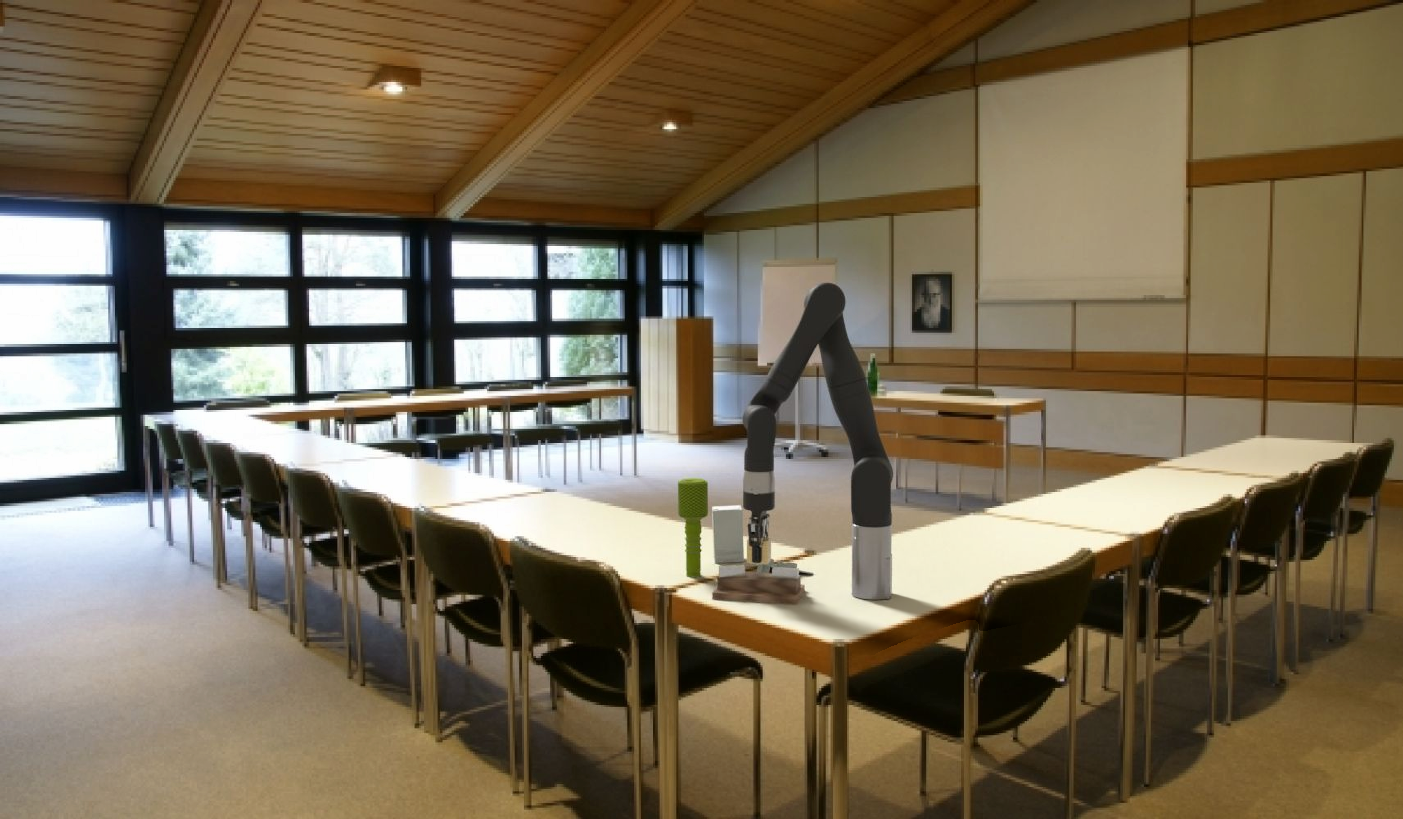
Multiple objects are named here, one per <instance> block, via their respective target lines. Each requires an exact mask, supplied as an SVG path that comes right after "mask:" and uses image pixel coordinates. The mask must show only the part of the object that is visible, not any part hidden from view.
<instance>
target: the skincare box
mask: <svg viewBox="0 0 1403 819" xmlns="http://www.w3.org/2000/svg"><path fill="white" fill-rule="evenodd" d="M711 515H712V517H711V520H712V544H713V547H712V548H713V559H714V564H723V563H724V564H725V563H729V564H730V563H744V562H745V554H744V553H745V552H744V550H745V549H744V526H743V525H744V523H743V507H742V506H741V504H738V505H737V504H736V505H719V506H718V505H717V506H715V505H714V506H711Z"/></svg>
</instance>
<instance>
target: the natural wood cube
mask: <svg viewBox="0 0 1403 819" xmlns="http://www.w3.org/2000/svg"><path fill="white" fill-rule="evenodd" d="M754 541H757V539H756V538H754ZM771 559H772V538H771V537H768V538H766V537H765V538H764V537H763V538H762V561H761V563H754V564H753V565H757V564H768V563H769V562H770V561H771ZM746 562H747V564H751V563H753V562H752V547H751V546H749V538H748V539H746Z"/></svg>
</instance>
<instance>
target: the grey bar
mask: <svg viewBox="0 0 1403 819" xmlns="http://www.w3.org/2000/svg"><path fill="white" fill-rule="evenodd" d="M799 570H800V568H798V567H797V568H784V567H772V569H771V574H772V578H776V579H792V580H798V578H799V575H800V572H799ZM745 572H746V567H745V565H743V564H742V565H741V564H740V565H737V564H736V565H719V566H718V576H720V577H745Z"/></svg>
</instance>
